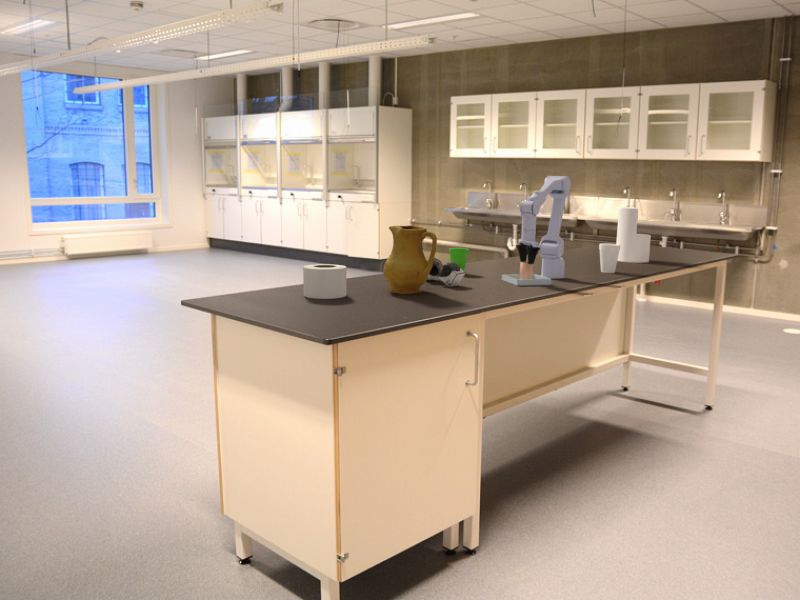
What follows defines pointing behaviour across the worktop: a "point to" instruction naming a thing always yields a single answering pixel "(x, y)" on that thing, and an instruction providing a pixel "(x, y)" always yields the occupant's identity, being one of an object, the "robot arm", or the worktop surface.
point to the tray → (535, 280)
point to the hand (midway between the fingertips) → (527, 262)
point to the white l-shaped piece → (631, 237)
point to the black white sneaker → (446, 273)
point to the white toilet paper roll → (324, 281)
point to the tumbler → (526, 271)
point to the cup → (459, 256)
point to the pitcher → (408, 259)
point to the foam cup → (608, 257)
